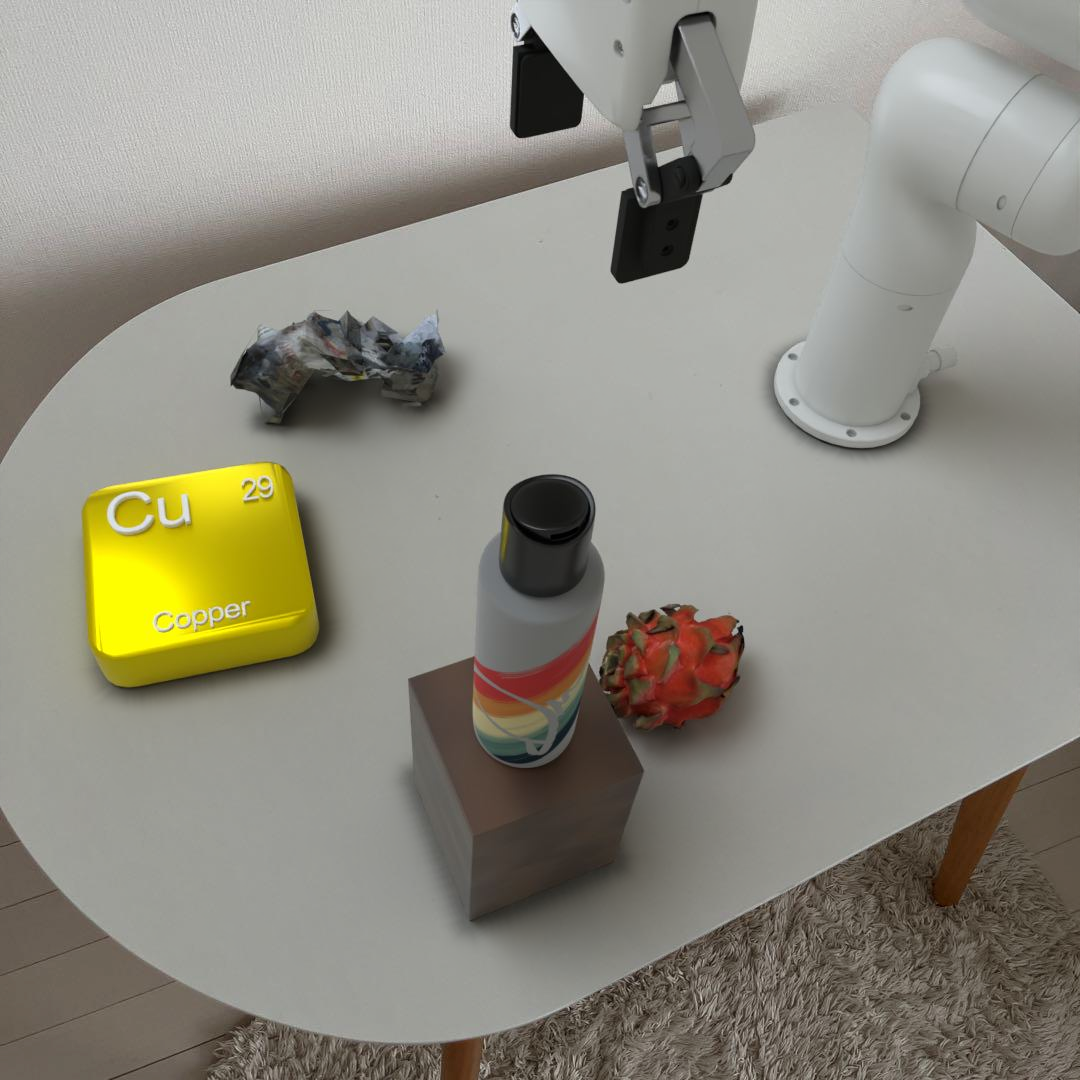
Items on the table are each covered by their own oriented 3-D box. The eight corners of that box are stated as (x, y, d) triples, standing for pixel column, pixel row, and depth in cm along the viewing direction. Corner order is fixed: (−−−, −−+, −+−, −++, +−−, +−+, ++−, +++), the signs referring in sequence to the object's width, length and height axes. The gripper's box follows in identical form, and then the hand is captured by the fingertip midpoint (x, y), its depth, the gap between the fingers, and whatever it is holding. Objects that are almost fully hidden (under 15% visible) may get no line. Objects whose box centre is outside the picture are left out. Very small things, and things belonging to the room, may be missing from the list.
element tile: (104, 695, 76) (85, 660, 72) (94, 524, 84) (77, 484, 80) (324, 652, 79) (318, 616, 75) (294, 490, 87) (286, 450, 83)
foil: (437, 429, 88) (267, 329, 81) (372, 484, 95) (213, 396, 89) (469, 324, 94) (313, 224, 88) (405, 383, 102) (258, 295, 96)
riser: (551, 730, 77) (569, 623, 65) (614, 861, 71) (644, 770, 60) (413, 780, 74) (407, 678, 62) (468, 921, 69) (472, 837, 57)
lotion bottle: (495, 785, 59) (512, 575, 43) (457, 696, 62) (459, 468, 46) (591, 749, 61) (643, 533, 44) (550, 664, 64) (584, 432, 47)
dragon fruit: (576, 729, 78) (710, 674, 84) (647, 777, 71) (788, 713, 77) (561, 619, 76) (700, 569, 81) (633, 657, 69) (780, 600, 74)
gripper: (936, -186, 29) (780, 311, 43) (632, -404, 37) (585, 67, 51) (681, -149, 26) (604, 361, 40) (423, -389, 35) (433, 98, 49)
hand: (594, 196), depth 46 cm, fingers open, 9 cm apart
